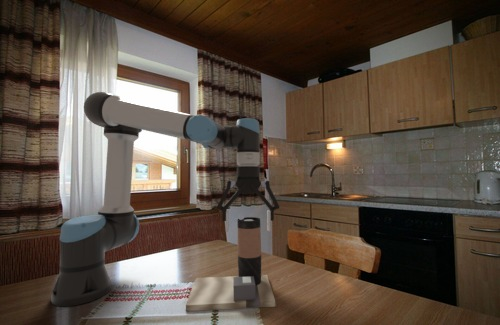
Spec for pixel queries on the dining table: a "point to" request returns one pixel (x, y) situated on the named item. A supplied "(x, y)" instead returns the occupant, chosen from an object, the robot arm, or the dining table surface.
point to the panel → (226, 294)
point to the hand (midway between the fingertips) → (248, 231)
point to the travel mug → (249, 248)
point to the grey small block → (244, 288)
